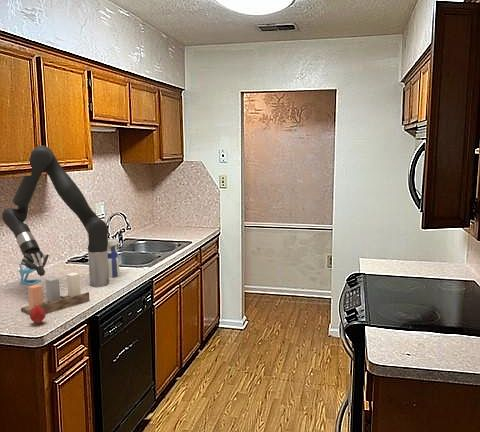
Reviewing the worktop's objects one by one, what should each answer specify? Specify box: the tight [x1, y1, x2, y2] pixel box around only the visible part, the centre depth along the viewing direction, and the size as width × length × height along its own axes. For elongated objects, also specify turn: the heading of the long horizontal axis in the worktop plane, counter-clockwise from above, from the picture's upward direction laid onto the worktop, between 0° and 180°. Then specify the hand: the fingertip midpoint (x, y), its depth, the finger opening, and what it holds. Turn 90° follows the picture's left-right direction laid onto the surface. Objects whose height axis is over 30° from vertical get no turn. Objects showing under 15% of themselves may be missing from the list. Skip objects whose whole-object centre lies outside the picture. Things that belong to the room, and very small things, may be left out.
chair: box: [18, 263, 42, 286], centre depth 249 cm, size 8×8×12 cm
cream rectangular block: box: [66, 272, 81, 297], centre depth 223 cm, size 4×4×10 cm
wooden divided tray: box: [20, 291, 91, 316], centre depth 215 cm, size 26×11×4 cm, turn 139°
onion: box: [29, 304, 46, 325], centre depth 195 cm, size 6×6×8 cm
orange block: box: [27, 283, 44, 310], centre depth 206 cm, size 4×4×10 cm
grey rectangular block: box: [45, 276, 61, 303], centre depth 216 cm, size 4×4×10 cm
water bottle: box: [107, 238, 121, 279], centre depth 259 cm, size 8×9×25 cm
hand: (42, 274), depth 220 cm, fingers closed
